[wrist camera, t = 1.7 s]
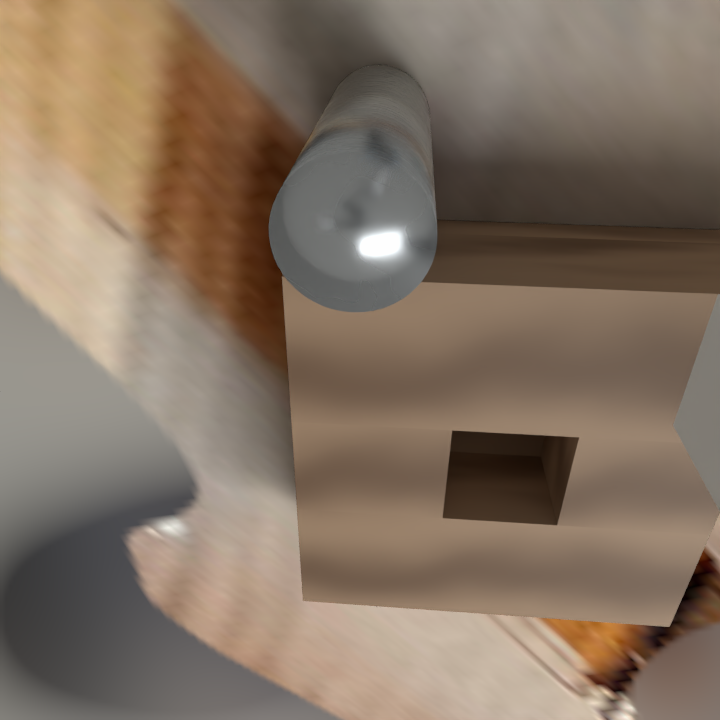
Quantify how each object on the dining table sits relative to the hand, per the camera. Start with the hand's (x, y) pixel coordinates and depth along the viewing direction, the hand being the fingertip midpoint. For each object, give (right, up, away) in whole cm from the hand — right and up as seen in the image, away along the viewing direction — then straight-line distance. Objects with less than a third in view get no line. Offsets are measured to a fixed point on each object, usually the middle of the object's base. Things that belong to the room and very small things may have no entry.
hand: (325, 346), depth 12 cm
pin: (+1, +9, +14) cm, 17 cm away
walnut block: (+7, -2, +20) cm, 22 cm away
